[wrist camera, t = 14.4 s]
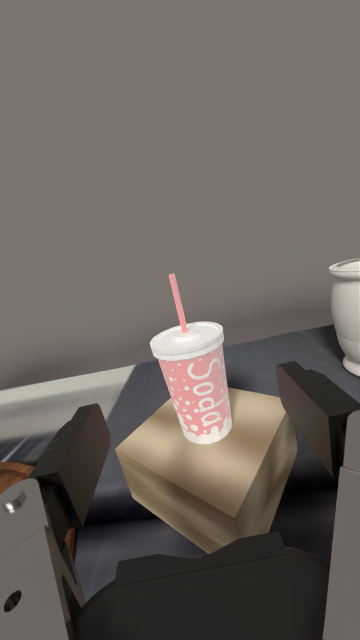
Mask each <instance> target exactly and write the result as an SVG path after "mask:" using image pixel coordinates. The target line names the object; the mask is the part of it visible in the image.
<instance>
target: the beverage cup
mask: <svg viewBox="0 0 360 640" xmlns="http://www.w3.org/2000/svg"><path fill="white" fill-rule="evenodd" d="M169 279H170V282H171V287H172V291H173V295H174V300H175V304H176V308H177V312H178V316H179V321H180V326H177V327H173V328H170V329H168V330H166V331H163V332H161V333H160V334H158V335H157V336H155V337H154V338H153V339H152V340H151V342H150V345H151V349H152V351H153V355H154V357H156V358H158V360H159V363H160V366H161V369H162V372H163V375H164V378H165V381H166V384H167V387H168V389H169V392H170V395H171V398H172V401H173V404H174V407H175V410H176V413H177V415H178V418H179V421H180V424H181V427H182V430H183V433H184V436H185V437H186V438H187V439H188V440H189V441H191V442H194V443H197V444H211V443H214V442H217V441H220V440H221V439H223V438H224V437H225V436H226V435H228V433H229V431H230V429H231V428H232V419H231V411H230V403H229V395H228V387H227V380H226V372H225V364H224V356H223V349H222V342H223V341H224V335H223V327H222V326H221V325H219V324H218V323H212V322H195V323H189V324H186V321H185V316H184V312H183V308H182V304H181V299H180V295H179V291H178V287H177V282H176V277H175V274H169Z"/></svg>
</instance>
